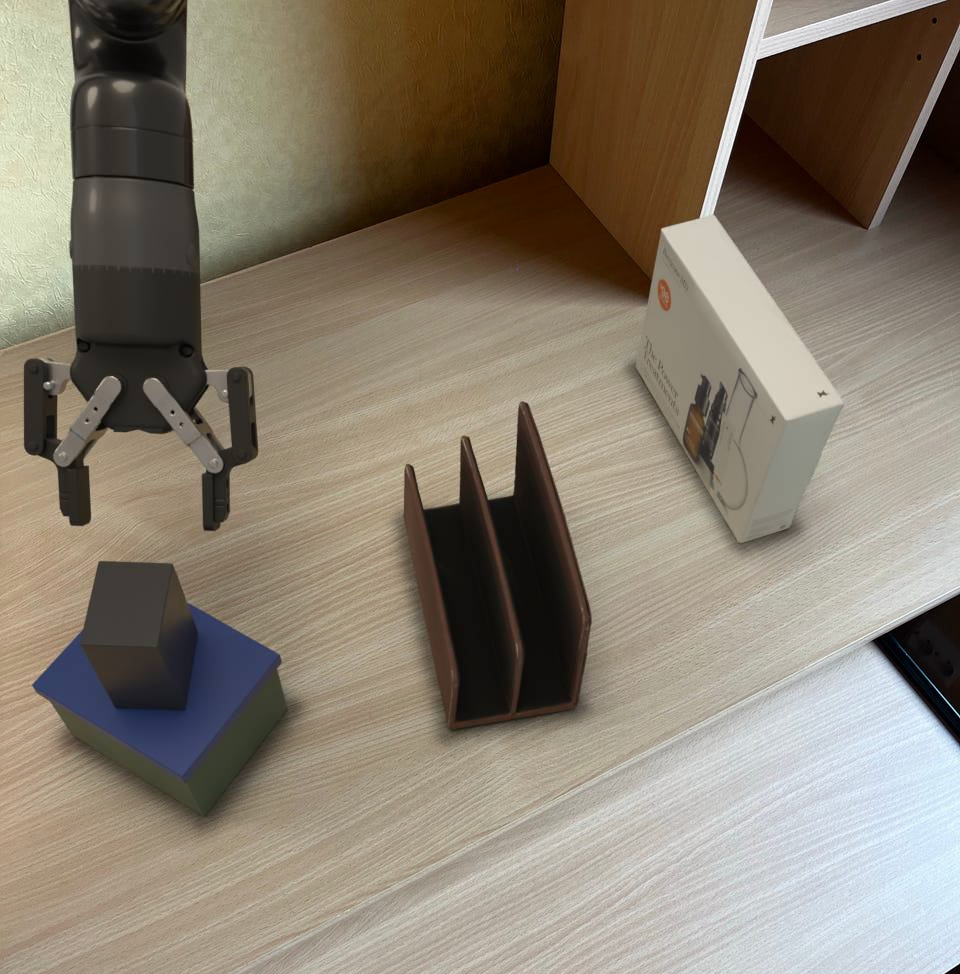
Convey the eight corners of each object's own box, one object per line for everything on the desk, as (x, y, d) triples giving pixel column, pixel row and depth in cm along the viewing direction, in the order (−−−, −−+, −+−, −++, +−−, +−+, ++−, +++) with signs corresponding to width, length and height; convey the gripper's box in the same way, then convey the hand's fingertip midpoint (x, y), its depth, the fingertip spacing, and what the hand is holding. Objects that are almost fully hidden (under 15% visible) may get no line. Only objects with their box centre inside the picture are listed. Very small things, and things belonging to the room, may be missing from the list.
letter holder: (519, 502, 92) (533, 384, 80) (578, 710, 82) (603, 612, 70) (402, 519, 91) (397, 401, 78) (447, 732, 81) (450, 637, 69)
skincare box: (627, 368, 100) (658, 224, 86) (681, 354, 101) (720, 210, 87) (733, 548, 90) (787, 418, 77) (791, 530, 92) (854, 399, 78)
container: (66, 737, 80) (30, 685, 73) (159, 630, 84) (134, 572, 77) (205, 823, 77) (182, 777, 70) (293, 708, 82) (280, 654, 74)
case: (115, 708, 72) (79, 644, 65) (131, 630, 75) (98, 560, 68) (185, 710, 72) (157, 646, 65) (198, 632, 75) (173, 562, 68)
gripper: (264, 274, 71) (266, 523, 75) (43, 264, 71) (57, 514, 75) (241, 266, 64) (244, 541, 68) (-6, 254, 63) (12, 532, 68)
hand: (146, 526), depth 71 cm, fingers open, 8 cm apart
